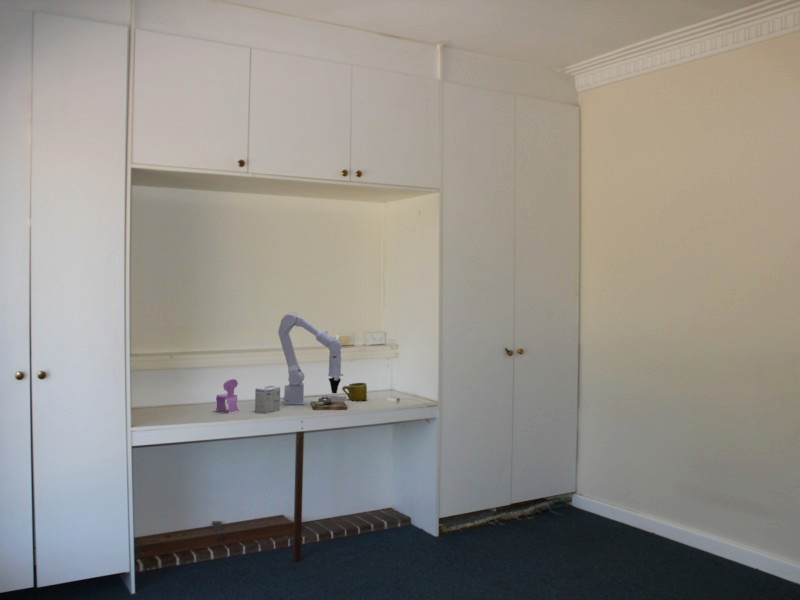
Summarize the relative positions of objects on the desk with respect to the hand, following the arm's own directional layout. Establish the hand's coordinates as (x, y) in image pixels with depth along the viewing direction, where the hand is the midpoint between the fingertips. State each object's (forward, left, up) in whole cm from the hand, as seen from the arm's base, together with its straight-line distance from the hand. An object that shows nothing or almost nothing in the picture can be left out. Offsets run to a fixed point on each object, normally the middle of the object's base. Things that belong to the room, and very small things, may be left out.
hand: (334, 393), depth 366 cm
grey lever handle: (-2, -6, -4) cm, 7 cm away
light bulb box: (-32, -14, -6) cm, 35 cm away
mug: (+12, +14, -6) cm, 19 cm away
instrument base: (-3, -6, -6) cm, 9 cm away
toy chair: (-50, -15, -6) cm, 53 cm away
